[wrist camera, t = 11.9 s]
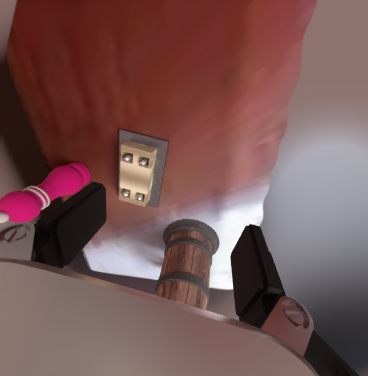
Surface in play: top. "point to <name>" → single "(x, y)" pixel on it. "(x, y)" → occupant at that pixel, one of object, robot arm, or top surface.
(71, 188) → the pepper mill
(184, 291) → the tankard
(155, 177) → the chassis
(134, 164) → the tan rectangular block
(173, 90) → the top surface
